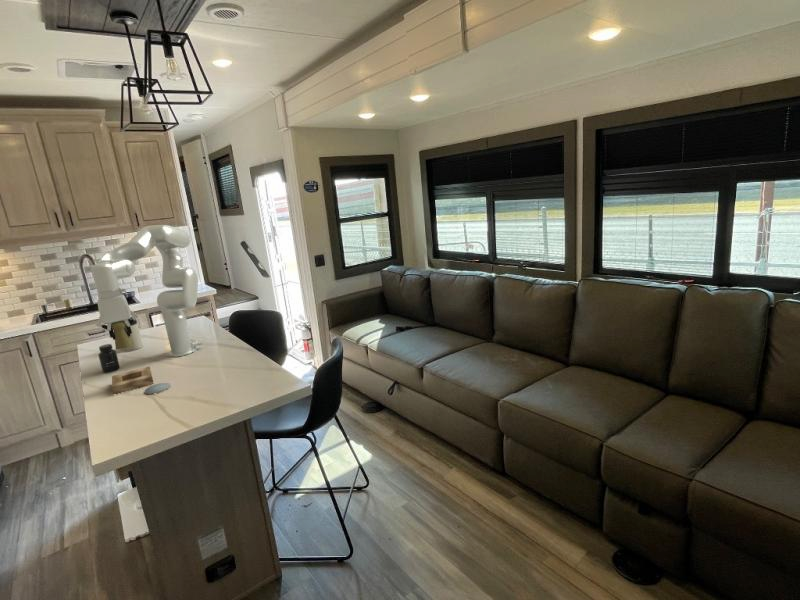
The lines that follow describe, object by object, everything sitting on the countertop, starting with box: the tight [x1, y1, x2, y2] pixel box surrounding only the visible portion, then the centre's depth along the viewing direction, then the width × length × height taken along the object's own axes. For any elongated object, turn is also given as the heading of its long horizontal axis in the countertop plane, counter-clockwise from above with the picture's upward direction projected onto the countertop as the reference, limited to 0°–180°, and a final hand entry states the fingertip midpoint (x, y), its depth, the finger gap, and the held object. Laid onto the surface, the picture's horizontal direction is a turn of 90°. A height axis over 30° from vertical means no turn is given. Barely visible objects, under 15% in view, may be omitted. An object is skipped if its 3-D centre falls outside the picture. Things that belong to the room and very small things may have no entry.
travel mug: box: [124, 315, 144, 352], centre depth 222 cm, size 8×8×18 cm
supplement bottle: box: [98, 343, 121, 374], centre depth 195 cm, size 7×7×12 cm
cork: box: [111, 321, 133, 350], centre depth 173 cm, size 6×6×11 cm
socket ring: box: [111, 365, 155, 395], centre depth 178 cm, size 14×14×4 cm
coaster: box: [144, 382, 171, 395], centre depth 171 cm, size 9×9×1 cm
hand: (121, 336), depth 173 cm, fingers closed on cork, 4 cm apart
